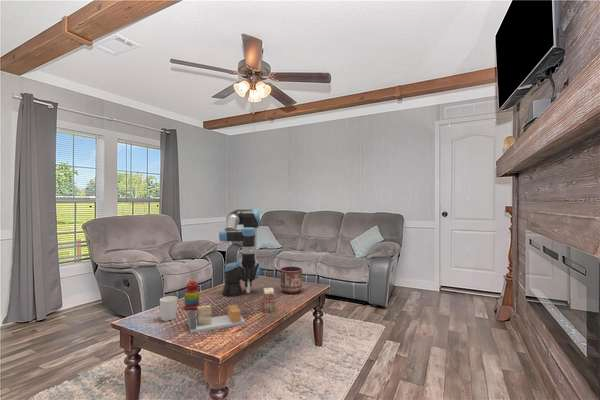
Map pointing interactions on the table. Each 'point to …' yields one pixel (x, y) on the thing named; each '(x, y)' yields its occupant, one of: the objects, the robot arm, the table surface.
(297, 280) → the pottery
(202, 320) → the maple block
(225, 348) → the table surface
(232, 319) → the block
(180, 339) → the table surface
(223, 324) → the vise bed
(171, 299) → the candle holder
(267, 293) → the stack of blocks
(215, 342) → the table surface
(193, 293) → the stacking bear
